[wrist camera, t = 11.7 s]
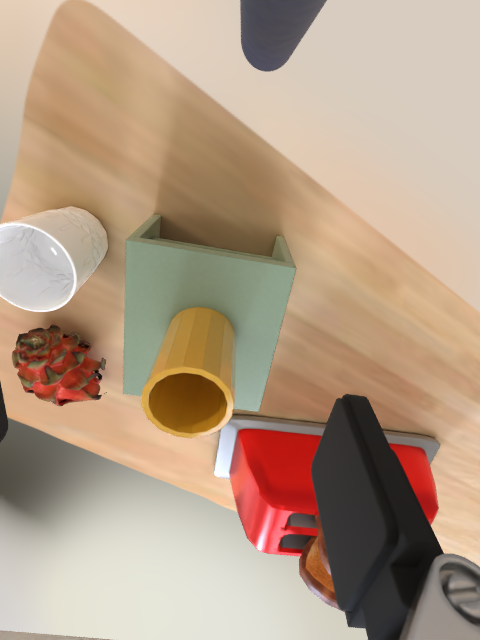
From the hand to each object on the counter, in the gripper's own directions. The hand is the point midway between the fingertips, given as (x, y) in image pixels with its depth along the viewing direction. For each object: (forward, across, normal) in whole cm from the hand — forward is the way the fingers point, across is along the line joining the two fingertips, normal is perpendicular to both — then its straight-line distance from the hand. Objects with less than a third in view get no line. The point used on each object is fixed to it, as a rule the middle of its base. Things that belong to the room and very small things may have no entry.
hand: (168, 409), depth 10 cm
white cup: (+31, +15, +6) cm, 35 cm away
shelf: (+30, 0, +10) cm, 32 cm away
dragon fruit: (+31, +16, +21) cm, 40 cm away
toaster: (+31, -20, +34) cm, 50 cm away
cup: (+20, 0, +10) cm, 23 cm away
